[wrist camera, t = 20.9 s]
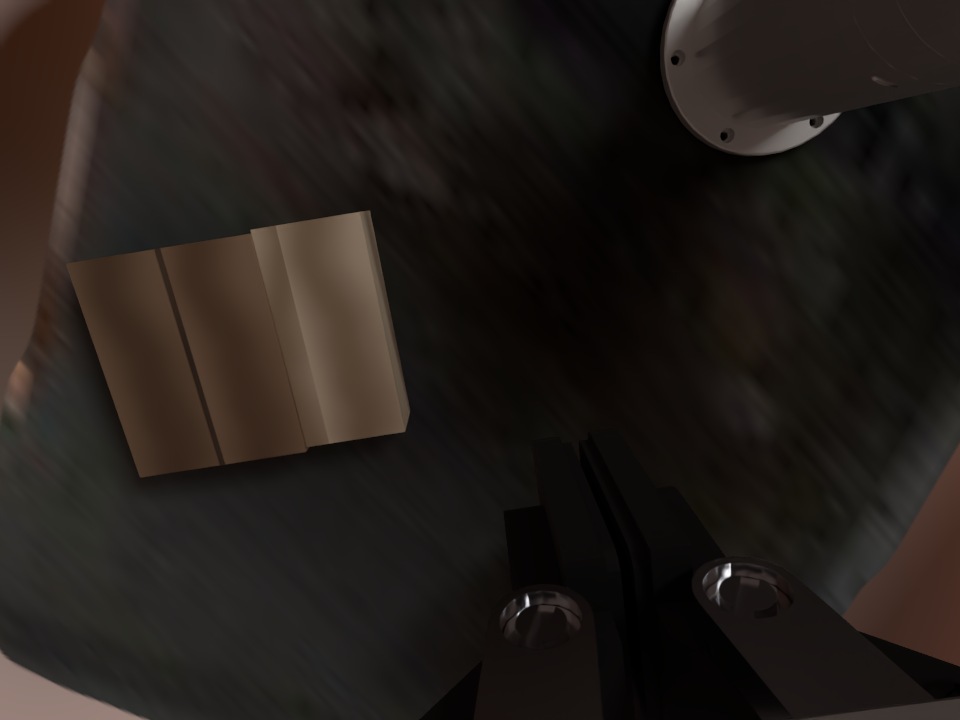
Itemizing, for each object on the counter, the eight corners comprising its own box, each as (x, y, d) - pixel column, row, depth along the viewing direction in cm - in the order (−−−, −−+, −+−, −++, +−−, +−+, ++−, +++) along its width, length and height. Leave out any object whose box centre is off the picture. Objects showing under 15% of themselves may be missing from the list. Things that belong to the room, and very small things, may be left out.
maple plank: (370, 210, 38) (359, 212, 34) (410, 410, 42) (405, 431, 38) (272, 226, 38) (250, 229, 34) (321, 424, 42) (306, 447, 38)
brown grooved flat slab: (289, 227, 38) (269, 230, 34) (337, 425, 42) (324, 449, 38) (106, 256, 38) (64, 263, 34) (170, 451, 42) (139, 478, 38)
